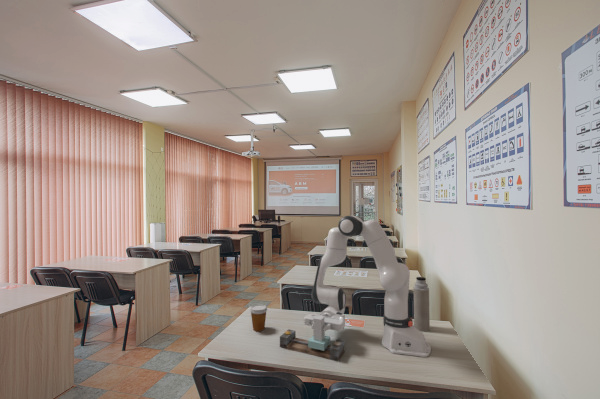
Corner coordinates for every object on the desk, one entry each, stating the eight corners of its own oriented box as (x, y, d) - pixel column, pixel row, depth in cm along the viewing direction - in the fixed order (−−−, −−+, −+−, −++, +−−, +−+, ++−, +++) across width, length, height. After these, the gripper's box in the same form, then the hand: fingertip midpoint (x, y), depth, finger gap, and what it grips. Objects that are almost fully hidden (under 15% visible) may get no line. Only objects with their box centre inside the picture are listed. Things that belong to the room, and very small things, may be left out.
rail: (344, 351, 136) (344, 339, 136) (338, 361, 128) (338, 348, 128) (288, 338, 149) (288, 328, 149) (279, 346, 141) (279, 335, 141)
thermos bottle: (415, 324, 165) (414, 275, 166) (430, 327, 161) (429, 276, 162) (412, 329, 158) (412, 278, 159) (428, 332, 154) (427, 280, 155)
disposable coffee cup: (262, 333, 155) (262, 311, 156) (247, 331, 158) (246, 309, 159) (270, 326, 164) (269, 305, 165) (255, 324, 167) (255, 303, 168)
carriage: (330, 343, 138) (329, 315, 138) (323, 350, 131) (323, 322, 131) (314, 339, 142) (314, 313, 142) (308, 347, 135) (307, 319, 135)
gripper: (310, 308, 153) (298, 318, 140) (347, 314, 144) (338, 325, 131) (310, 320, 153) (298, 331, 140) (347, 327, 144) (338, 339, 131)
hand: (318, 328), depth 136 cm, fingers closed on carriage, 4 cm apart
